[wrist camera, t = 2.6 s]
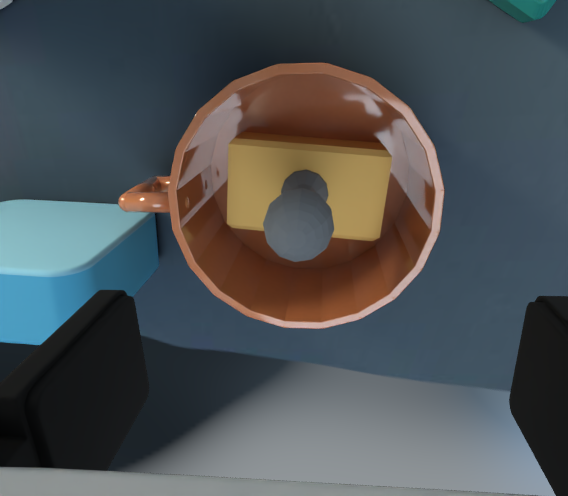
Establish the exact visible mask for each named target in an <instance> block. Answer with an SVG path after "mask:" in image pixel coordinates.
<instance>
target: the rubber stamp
mask: <svg viewBox="0 0 568 496" xmlns="http://www.w3.org/2000/svg"><path fill="white" fill-rule="evenodd" d="M391 163H392V156H391V154H390V153H389V152H388V150H387V149H386V148H385V147H384V145H383V144H382V143H375V142H362V141H350V140H338V139H325V138H313V137H301V136H288V135H276V134H264V133H252V132H242V133H240V134H239V135H237V136H236V137H235V138H234V139H232V140H231V141H230V142H229V144H228V191H227V224H228V225H229V226H231V227H232V228H238V229H249V230H259V231H264V232H265V236H266V241H267V243H268V245H269V246H270V247H271V248H272V249H273V250H274V251H275V252H276V253H277V254H278V255H279V256H280V257H282V258H285V259H288V260H291V261H294V262H298V261H305V260H311V259H313V258H315V257H316V256H317V255H318V254H320V253H321V252H322V251H324V250H325V249H326V248H327V246H328V244H329V241H330V239H331V237H333V238H344V239H355V240H365V241H374V240H376V239H378V238H380V233H381V226H382V220H383V214H384V207H385V201H386V195H387V188H388V182H389V176H390V170H391Z"/></svg>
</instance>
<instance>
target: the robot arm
mask: <svg viewBox="0 0 568 496" xmlns="http://www.w3.org/2000/svg"><path fill="white" fill-rule="evenodd" d="M12 1H13V0H0V9H2V8H4V7H5V6H7V5H9V4H10V3H11V2H12ZM148 393H149V382H148V377H147V370H146V365H145V359H144V353H143V348H142V342H141V336H140V330H139V325H138V319H137V313H136V308H135V302H134V299H133V297H132V296H128V295H127V293H126V292H125V291H124V290H99V291H98V292H96V293H95V294H94V295H93V296H92V297H91V298H90V299H89V300H88V301H87V302H86V303H85V304H84V305H83V306H82V307H80V308H79V309H78V310H77V311H76V312H75V313H74V314H73V315H72V316H71V317H70V318H69V319H68V320H67V321H66V322H64V323H63V324H62V325H61V326H60V327H59V328H58V329H57V330H56V331H55V332H54V333H53V334H52V335H51V336H50V337H48V338H47V339H46V340H45V341H44V342H43V343H42V344H41V345H40V346H39V347H38V348H37V349H36V350H35V351H34V352H33V353H31V354H30V355H29V356H28V357H27V358H26V359H25V360H24V361H23V362H22V363H21V364H20V365H19V366H18V367H17V368H16V369H14V371H12V372H11V373H10V374H9V375H8V376H7V377H6V378H5V379H4V380H3V381H2V382H1V383H0V496H536V495H519V494H504V493H488V492H472V491H456V490H438V489H420V488H402V487H385V486H367V485H350V484H349V485H348V484H332V483H314V482H296V481H280V480H262V479H244V478H227V477H226V478H225V477H210V476H193V475H175V474H154V473H136V472H116V471H107V469H108V468H109V466H110V464H111V462H112V460H113V459H114V457H115V455H116V453H117V452H118V450H119V448H120V446H121V444H122V443H123V441H124V439H125V437H126V435H127V434H128V432H129V430H130V428H131V427H132V425H133V423H134V421H135V419H136V418H137V416H138V414H139V412H140V410H141V409H142V407H143V405H144V403H145V401H146V399H147V397H148ZM509 401H510V409H511V413H512V415H513V417H514V419H515V421H516V423H517V424H518V426H519V428H520V430H521V432H522V434H523V435H524V437H525V439H526V441H527V443H528V444H529V447H530V448H531V450H532V452H533V453H534V456H535V458H536V459H537V461H538V463H539V465H540V467H541V469H542V471H543V472H544V474H545V476H546V478H547V480H548V482H549V484H550V485H551V487H552V489H553V491H554V493H555V495H556V496H568V296H539V297H537V299H536V300H535V302H530V303H529V304H528V306H527V309H526V314H525V319H524V324H523V329H522V335H521V340H520V345H519V350H518V356H517V361H516V366H515V372H514V377H513V382H512V387H511V393H510V399H509Z"/></svg>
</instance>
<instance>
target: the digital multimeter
mask: <svg viewBox="0 0 568 496" xmlns="http://www.w3.org/2000/svg"><path fill="white" fill-rule="evenodd" d="M489 1H491V2H492V3H493V4H495V5H496V6H497V7H499V8H500V9H502V10H503V11H505V12H506V13H507V14H509V15H510V16H512V17H513V18H515V19H516V20H518V21H520V22H522V23H524V22H529V21H533V20H537V19H541V18H542V17H543V16H545V15H546V13H547V12H548V11H549V10H550V8H551V7H552V6H553V4H554V3H555V2H556V0H489Z"/></svg>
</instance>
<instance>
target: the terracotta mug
mask: <svg viewBox="0 0 568 496" xmlns="http://www.w3.org/2000/svg"><path fill="white" fill-rule="evenodd" d="M242 132H252V133H264V134H276V135H288V136H301V137H313V138H325V139H338V140H350V141H362V142H375V143H382V144H383V145H384V147H385V148H386V149H387V150H388V152H389V153H390V154H391V156H392V163H391V170H390V176H389V182H388V188H387V195H386V201H385V207H384V214H383V220H382V226H381V233H380V238H378V239H376V240H374V241H365V240H355V239H344V238H333V237H331V239H330V241H329V244H328V246H327V248H326V249H325V250H324V251H322V252H321V253H320V254H318V255H317V256H316V257H315V258H313V259H311V260H305V261H298V262H294V261H291V260H288V259H285V258H282V257H280V256H279V255H278V254H277V253H276V252H275V251H274V250H273V249H272V248H271V247H270V246H269V245H268V243H267V241H266V236H265V232H264V231H259V230H249V229H238V228H232V227H231V226H229V225H228V224H227V191H228V144H229V142H230V141H231V140H232V139H234V138H235V137H236V136H237V135H239V134H240V133H242ZM176 148H177V149H176V150H175V155H174V160H173V165H172V170H171V175H170V176H152V177H150V178H149V179H147V180H145V181H144V182H142V183H140V184H139V185H137V186H135V187H133V188H132V189H130V190H128V191H127V192H125V193H123V194H122V195H121V196H120V197H119V200H118V203H119V207H120V208H121V209H122V210H123V211H125V212H134V213H170V214H171V223H172V230H173V232H174V234H175V237H176V239H177V241H178V243H179V245H180V248H181V250H182V252H183V254H184V256H185V259H186V261H187V263H188V265H189V267H190V268H191V269H192V270H193V272H194V273H195V274H196V275H197V276H198V277H199V278H200V280H201V281H202V282H203V283H204V284H205V285H206V286H207V288H208V289H209V290H210V291H211V292H212V293H213V294H214V295H215V296H216V297H218V298H219V299H221V300H222V301H224V302H225V303H227V304H229V305H230V306H232V307H233V308H235V309H236V310H238V311H239V312H241V313H243V314H244V315H246V316H248V317H251V318H254V319H257V320H260V321H264V322H267V323H270V324H273V325H277V326H280V327H284V328H309V329H322V328H323V329H324V328H328V327H332V326H336V325H340V324H344V323H348V322H352V321H356V320H360V319H362V318H364V317H366V316H367V315H369V314H371V313H372V312H374V311H376V310H378V309H379V308H381V307H383V306H385V305H386V304H388V303H390V302H391V301H393V300H394V299H396V298H397V297H398V296H399V294H400V293H401V292H402V291H403V290H404V289H405V288H406V287H407V286H408V285H409V284H410V283H411V282H412V280H413V279H414V278H415V277H416V276H417V275H418V274H419V273H420V272H421V271H422V269H423V267H424V265H425V263H426V261H427V259H428V257H429V255H430V252H431V250H432V248H433V246H434V244H435V242H436V240H437V238H438V235H439V233H440V228H441V219H442V210H443V202H444V193H445V190H444V189H445V188H444V184H443V179H442V175H441V170H440V166H439V162H438V157H437V153H436V148H435V146H434V144H433V142H432V141H431V139H430V138H429V136H428V134H427V133H426V131H425V130H424V128H423V127H422V125H421V123H420V122H419V120H418V119H417V117H416V116H415V114H414V112H413V111H412V109H411V108H410V107H409V106H408V105H407V104H406V103H404V102H403V101H402V100H400V99H399V98H398V97H397V96H395V95H394V94H393V93H391V92H390V91H389V90H387V89H386V88H385V87H384V86H382V85H381V84H380V83H378V82H377V81H376V80H375V79H373V78H371V77H369V76H366V75H363V74H360V73H356V72H353V71H350V70H347V69H344V68H341V67H338V66H335V65H332V64H329V63H286V64H275V65H273V66H270V67H267V68H265V69H262V70H259V71H257V72H254V73H252V74H249V75H246V76H244V77H241V78H239V79H236V80H234V81H232V82H231V83H229V84H228V85H227V86H226V87H225V88H224V89H222V90H221V91H220V92H219V93H218V94H217V95H215V96H214V97H213V98H212V99H211V100H210V101H208V102H207V103H206V104H205V105H204V106H202V107H201V108H200V109H199V110H198V111H197V113H196V115H195V116H194V118H193V120H192V121H191V123H190V125H189V127H188V128H187V130H186V132H185V133H184V135H183V137H182V139H181V140H180V142H179V144H178V145H177V147H176Z"/></svg>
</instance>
